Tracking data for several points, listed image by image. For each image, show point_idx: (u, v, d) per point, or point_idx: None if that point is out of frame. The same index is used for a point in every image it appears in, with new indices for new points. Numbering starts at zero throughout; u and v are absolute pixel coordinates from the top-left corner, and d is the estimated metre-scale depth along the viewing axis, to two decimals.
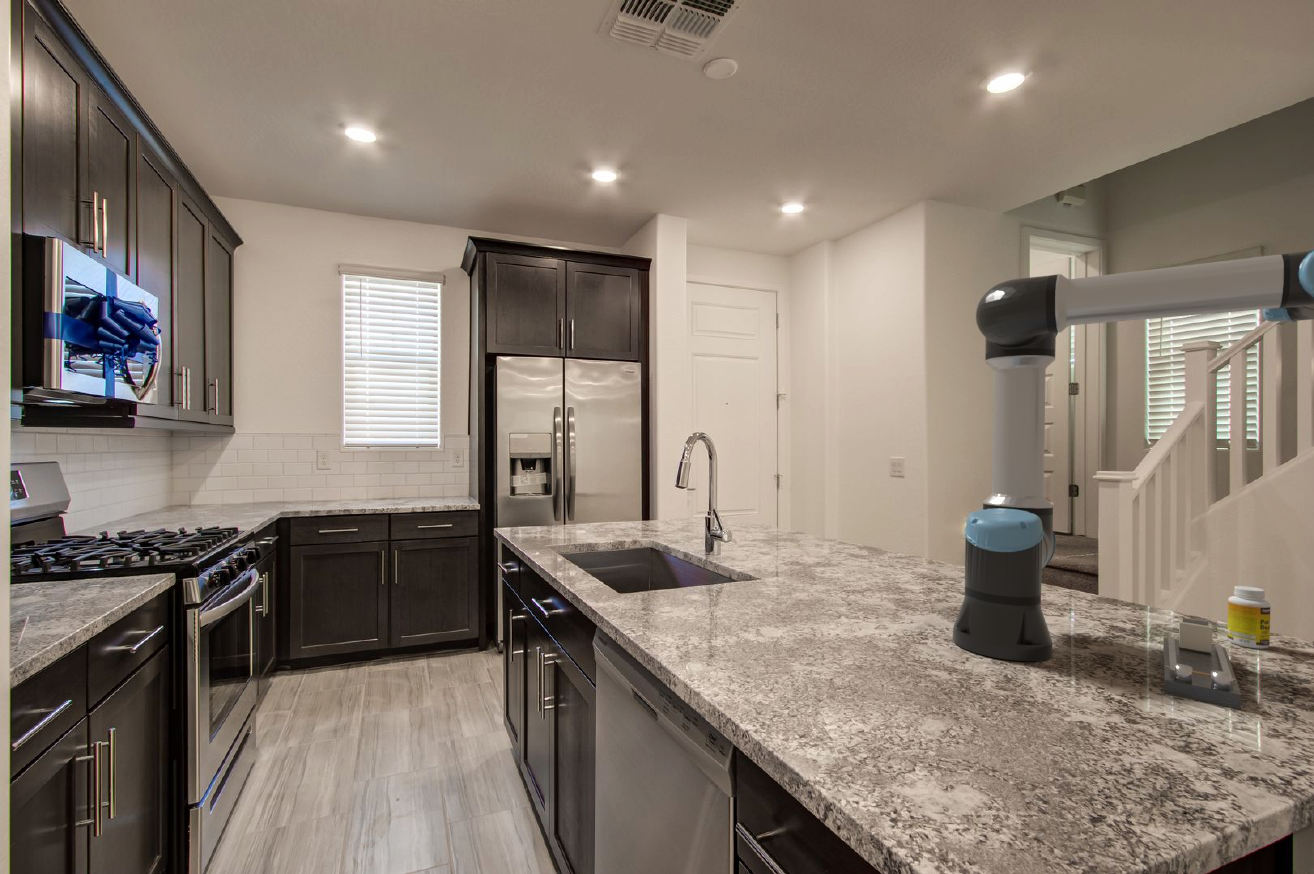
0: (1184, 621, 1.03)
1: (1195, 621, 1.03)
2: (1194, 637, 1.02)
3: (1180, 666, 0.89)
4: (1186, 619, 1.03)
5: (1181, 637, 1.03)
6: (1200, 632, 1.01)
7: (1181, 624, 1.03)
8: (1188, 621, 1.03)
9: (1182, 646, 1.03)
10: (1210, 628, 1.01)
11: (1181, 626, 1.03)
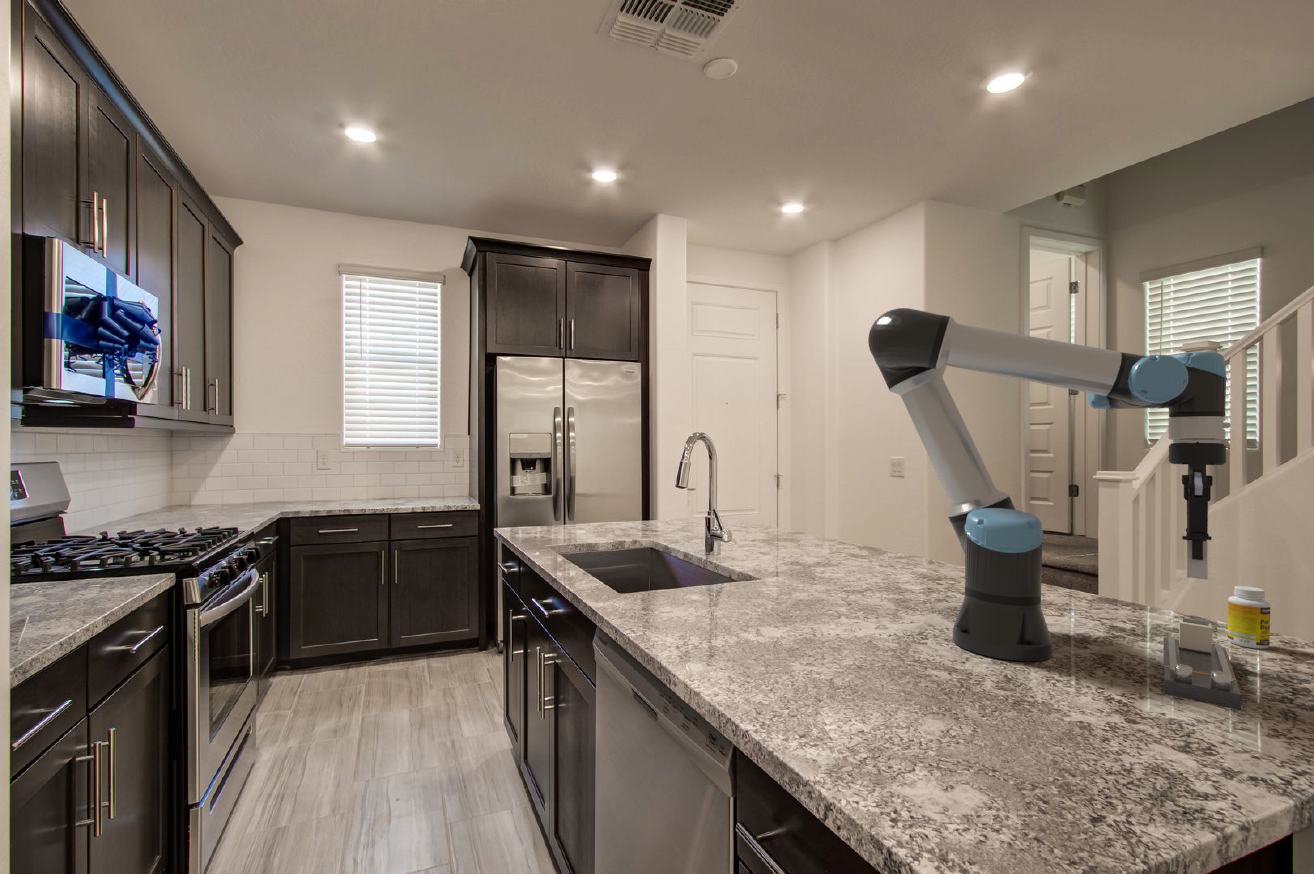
0: (1184, 621, 1.03)
1: (1195, 621, 1.03)
2: (1194, 637, 1.02)
3: (1180, 666, 0.89)
4: (1186, 619, 1.03)
5: (1181, 637, 1.03)
6: (1200, 632, 1.01)
7: (1181, 624, 1.03)
8: (1188, 621, 1.03)
9: (1182, 646, 1.03)
10: (1210, 628, 1.01)
11: (1181, 626, 1.03)
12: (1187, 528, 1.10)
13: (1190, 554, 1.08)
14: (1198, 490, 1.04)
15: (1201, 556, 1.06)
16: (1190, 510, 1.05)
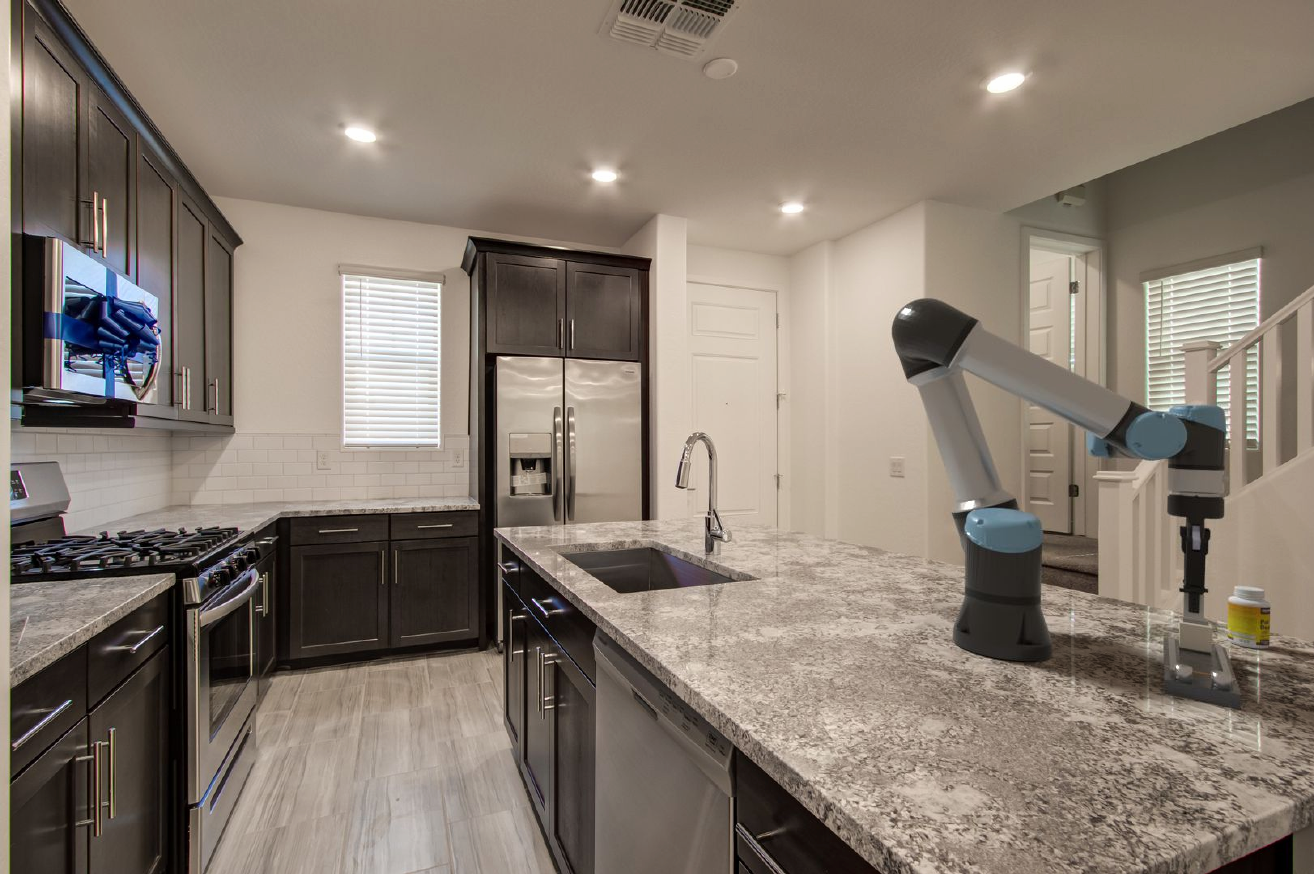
0: (1184, 621, 1.03)
1: (1195, 621, 1.03)
2: (1194, 637, 1.02)
3: (1180, 666, 0.89)
4: (1186, 619, 1.03)
5: (1181, 637, 1.03)
6: (1200, 632, 1.01)
7: (1181, 624, 1.03)
8: (1188, 621, 1.03)
9: (1182, 646, 1.03)
10: (1210, 628, 1.01)
11: (1181, 626, 1.03)
12: (1184, 580, 1.10)
13: (1187, 606, 1.08)
14: (1196, 544, 1.04)
15: (1198, 609, 1.06)
16: (1187, 564, 1.05)
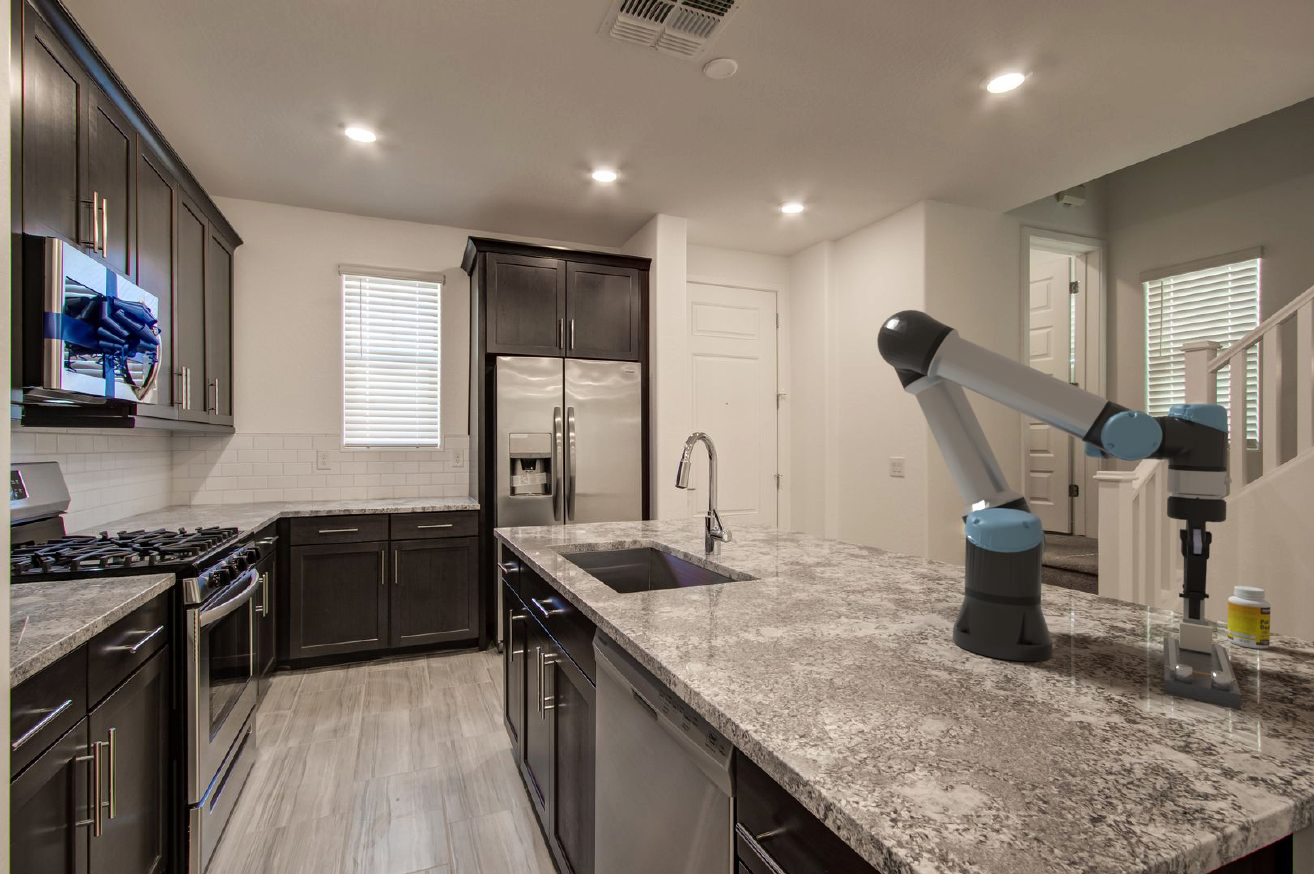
0: (1184, 621, 1.03)
1: (1195, 621, 1.02)
2: (1194, 637, 1.02)
3: (1180, 666, 0.89)
4: (1186, 620, 1.03)
5: (1181, 637, 1.03)
6: (1200, 633, 1.01)
7: (1181, 624, 1.03)
8: (1188, 621, 1.03)
9: (1182, 646, 1.02)
10: (1210, 628, 1.00)
11: (1181, 626, 1.03)
12: (1184, 584, 1.06)
13: (1187, 612, 1.04)
14: (1197, 548, 1.00)
15: (1198, 616, 1.03)
16: (1188, 568, 1.01)
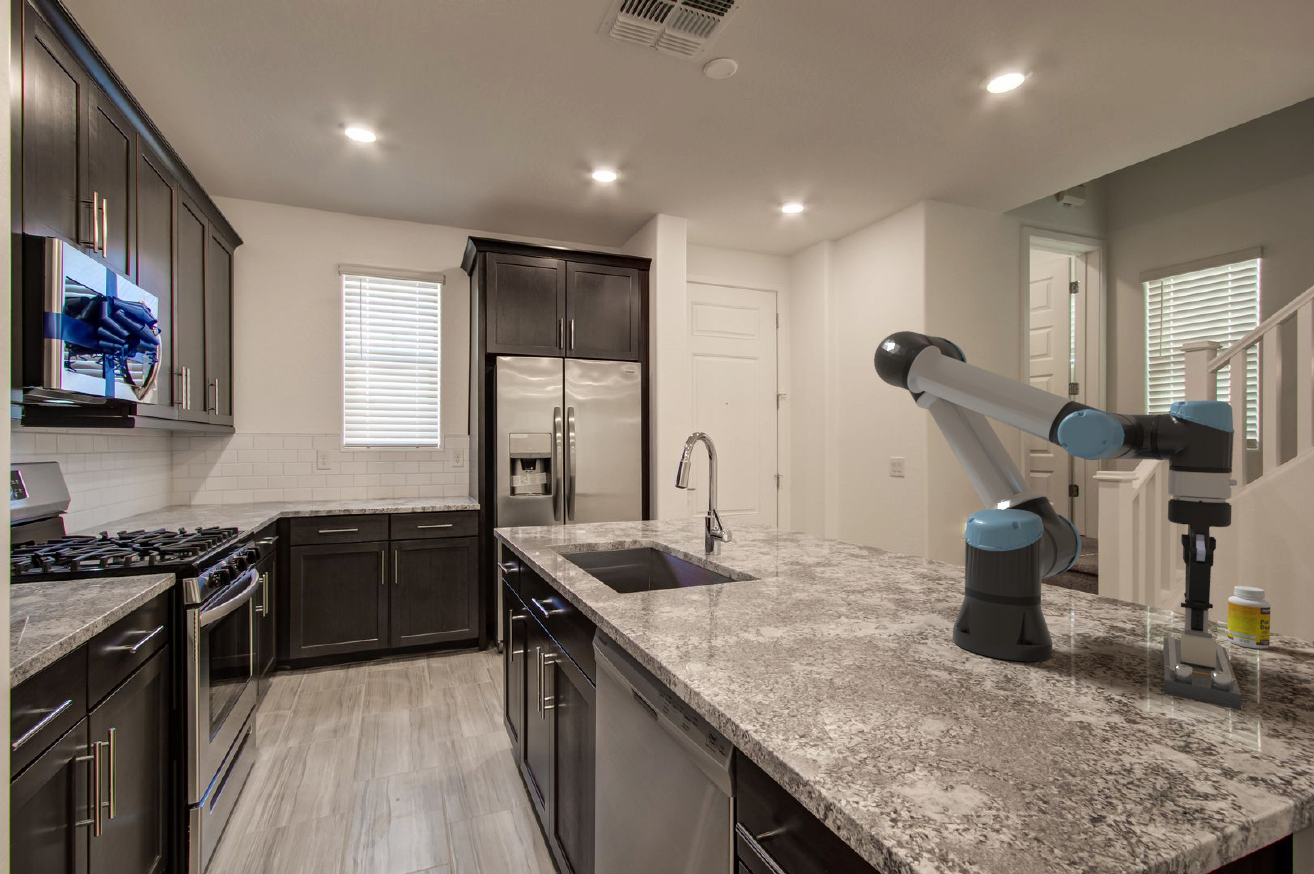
0: (1186, 633, 0.97)
1: (1198, 633, 0.96)
2: (1197, 650, 0.95)
3: (1180, 666, 0.89)
4: (1188, 631, 0.96)
5: (1183, 650, 0.96)
6: (1203, 645, 0.94)
7: (1183, 636, 0.96)
8: (1190, 633, 0.96)
9: (1184, 660, 0.96)
10: (1214, 641, 0.94)
11: (1183, 639, 0.96)
12: (1186, 593, 0.99)
13: (1189, 623, 0.98)
14: (1200, 555, 0.93)
15: (1201, 627, 0.96)
16: (1191, 577, 0.95)
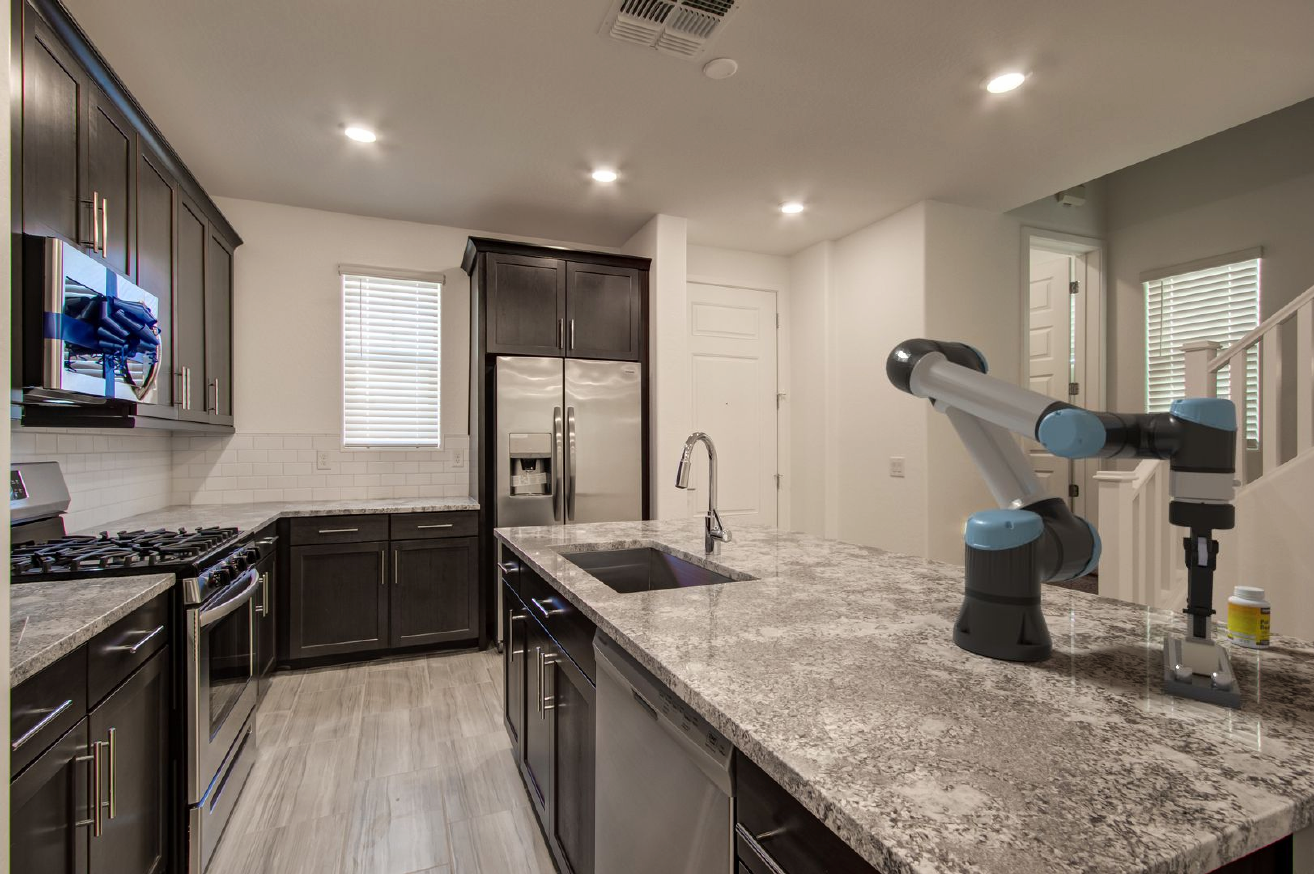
0: (1187, 641, 0.93)
1: (1199, 641, 0.92)
2: (1198, 659, 0.91)
3: (1180, 666, 0.89)
4: (1189, 639, 0.93)
5: (1184, 659, 0.92)
6: (1205, 654, 0.91)
7: (1184, 644, 0.92)
8: (1192, 641, 0.92)
9: None
10: (1216, 649, 0.90)
11: (1184, 646, 0.92)
12: (1188, 599, 0.96)
13: (1191, 630, 0.94)
14: (1202, 559, 0.89)
15: (1204, 634, 0.92)
16: (1192, 582, 0.91)
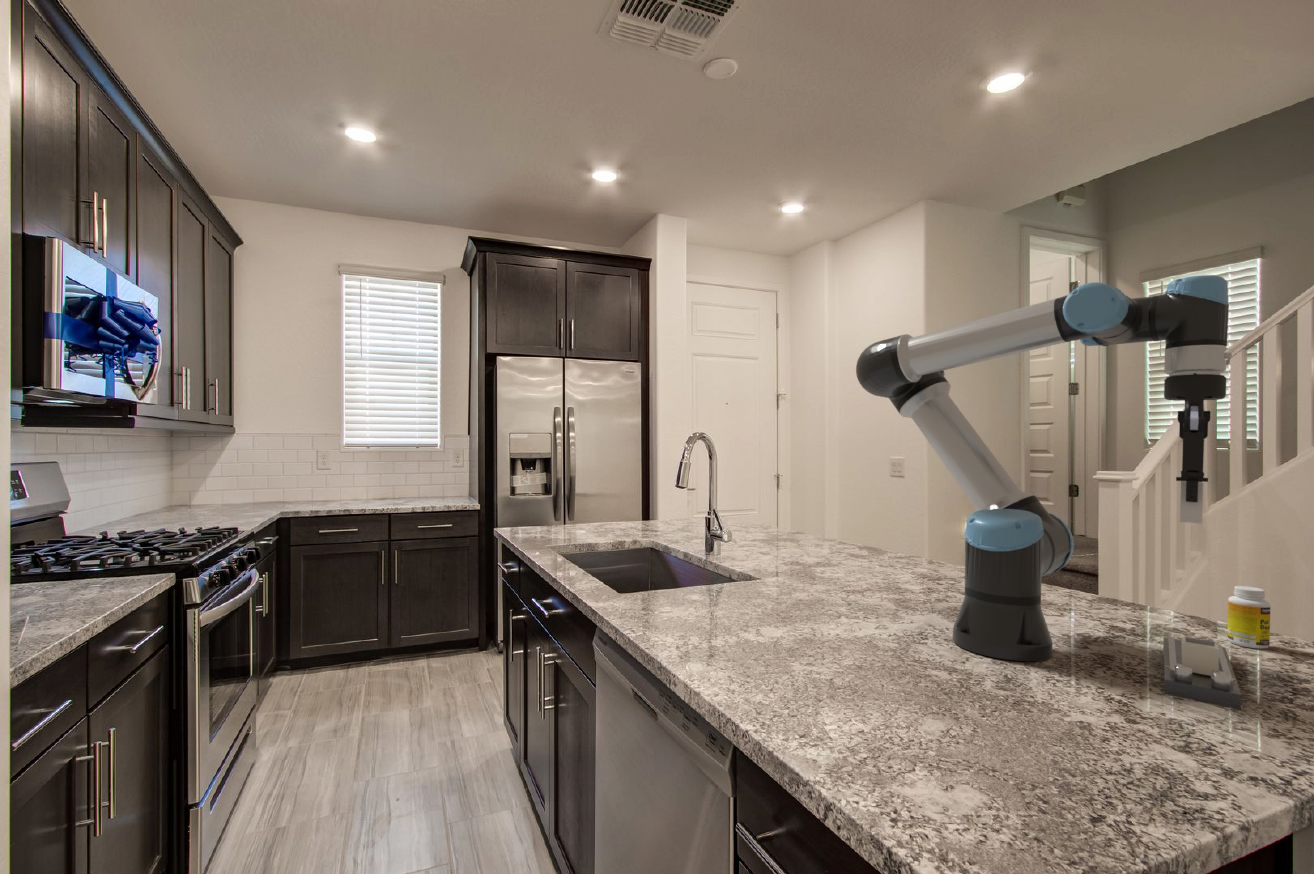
0: (1187, 641, 0.93)
1: (1199, 641, 0.92)
2: (1198, 659, 0.91)
3: (1180, 666, 0.89)
4: (1189, 639, 0.93)
5: (1184, 659, 0.92)
6: (1205, 654, 0.91)
7: (1184, 644, 0.92)
8: (1192, 641, 0.92)
9: None
10: (1216, 649, 0.90)
11: (1184, 647, 0.92)
12: (1182, 469, 1.01)
13: (1184, 496, 1.00)
14: (1194, 424, 0.95)
15: (1196, 498, 0.98)
16: (1184, 447, 0.97)
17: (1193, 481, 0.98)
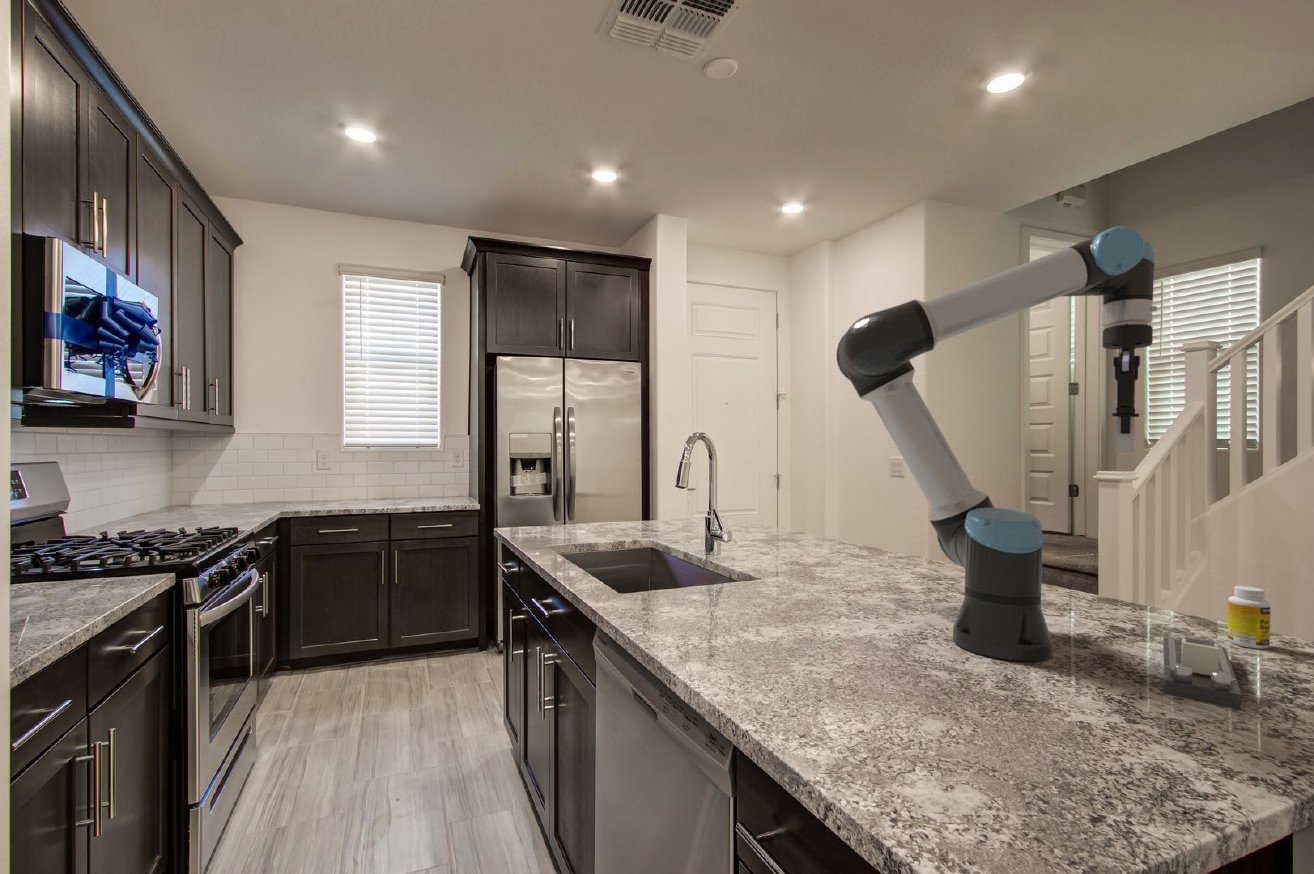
0: (1187, 641, 0.93)
1: (1199, 641, 0.92)
2: (1198, 659, 0.91)
3: (1180, 666, 0.89)
4: (1189, 639, 0.93)
5: (1184, 659, 0.92)
6: (1205, 654, 0.91)
7: (1184, 644, 0.92)
8: (1192, 641, 0.92)
9: None
10: (1216, 649, 0.90)
11: (1184, 647, 0.92)
12: None
13: (1119, 430, 1.17)
14: (1125, 365, 1.12)
15: (1128, 430, 1.15)
16: (1118, 386, 1.14)
17: (1126, 415, 1.15)
